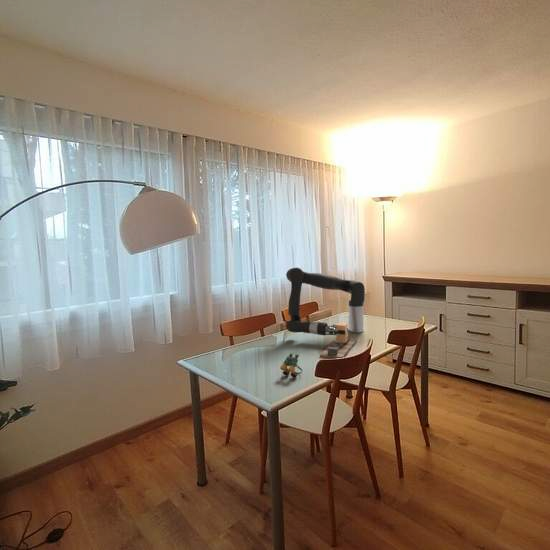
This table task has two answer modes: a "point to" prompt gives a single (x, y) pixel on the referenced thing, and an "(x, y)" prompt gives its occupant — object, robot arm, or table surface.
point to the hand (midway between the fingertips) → (346, 331)
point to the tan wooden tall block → (342, 337)
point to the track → (338, 349)
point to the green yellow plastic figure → (292, 363)
